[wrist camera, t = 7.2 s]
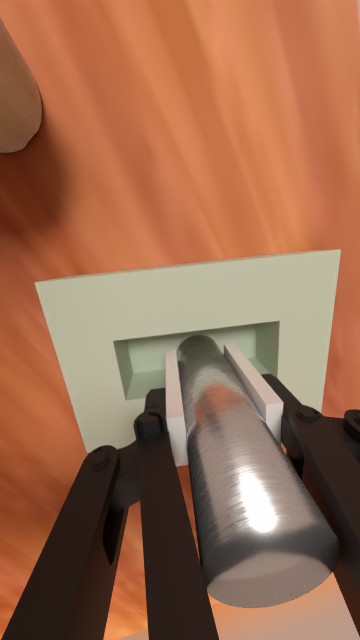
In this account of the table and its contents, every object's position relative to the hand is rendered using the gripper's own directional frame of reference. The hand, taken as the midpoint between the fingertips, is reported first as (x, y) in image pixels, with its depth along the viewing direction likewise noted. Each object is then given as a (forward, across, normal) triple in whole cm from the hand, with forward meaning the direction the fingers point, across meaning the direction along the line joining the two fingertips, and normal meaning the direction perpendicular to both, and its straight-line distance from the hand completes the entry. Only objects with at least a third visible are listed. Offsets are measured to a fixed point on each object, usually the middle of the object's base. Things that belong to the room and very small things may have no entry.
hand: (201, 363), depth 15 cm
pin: (+2, 0, 0) cm, 2 cm away
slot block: (+5, 0, 0) cm, 5 cm away
